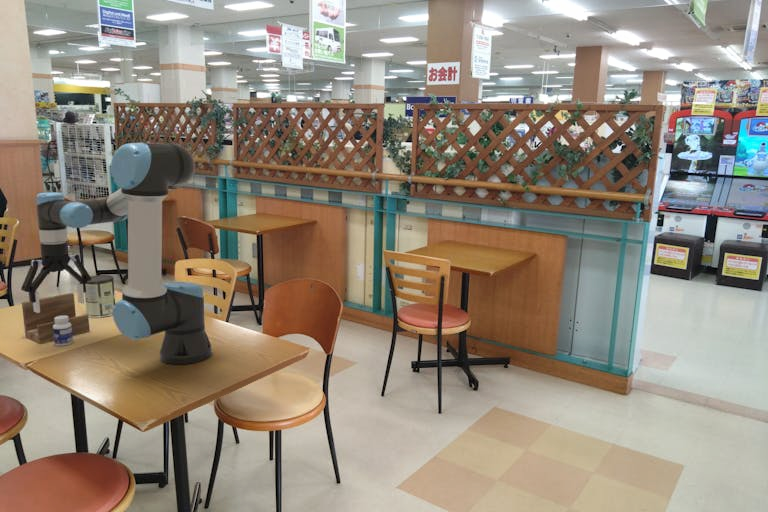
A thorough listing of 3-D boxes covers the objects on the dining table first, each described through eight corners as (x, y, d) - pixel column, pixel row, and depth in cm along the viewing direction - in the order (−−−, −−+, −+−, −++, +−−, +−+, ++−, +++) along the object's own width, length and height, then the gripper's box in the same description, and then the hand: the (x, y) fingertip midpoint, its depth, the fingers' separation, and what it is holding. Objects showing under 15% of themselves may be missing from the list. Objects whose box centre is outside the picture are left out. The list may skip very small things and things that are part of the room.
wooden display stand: (89, 331, 197) (86, 297, 194) (40, 343, 184) (36, 308, 182) (74, 325, 203) (71, 292, 201) (25, 337, 190) (21, 302, 188)
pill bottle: (52, 343, 185) (49, 317, 183) (69, 339, 189) (67, 313, 187) (57, 347, 181) (55, 320, 180) (75, 343, 185) (73, 317, 183)
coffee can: (96, 309, 222) (93, 274, 220) (121, 310, 221) (119, 275, 219) (80, 317, 212) (76, 280, 210) (106, 318, 211) (103, 281, 209)
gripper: (87, 236, 191) (92, 297, 195) (4, 245, 171) (11, 313, 175) (99, 238, 186) (104, 301, 191) (15, 249, 167) (22, 318, 171)
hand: (59, 307), depth 183 cm, fingers open, 13 cm apart
